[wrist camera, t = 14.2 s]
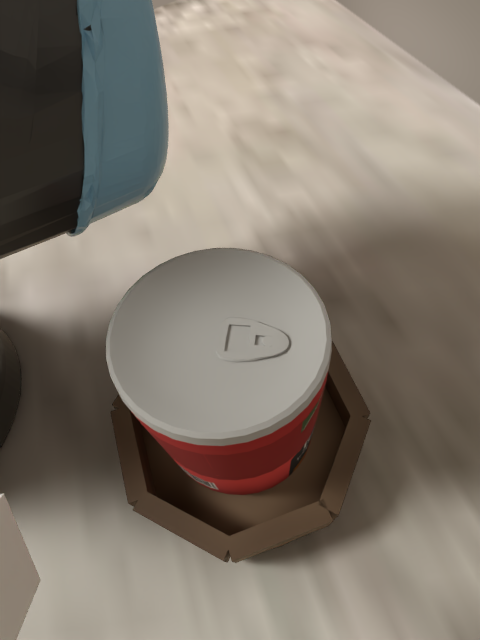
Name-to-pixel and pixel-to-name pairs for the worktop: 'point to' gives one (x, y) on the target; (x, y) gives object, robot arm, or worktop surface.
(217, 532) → the walnut tray
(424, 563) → the worktop surface
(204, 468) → the canned food
